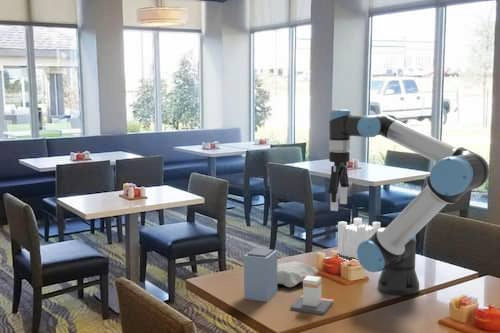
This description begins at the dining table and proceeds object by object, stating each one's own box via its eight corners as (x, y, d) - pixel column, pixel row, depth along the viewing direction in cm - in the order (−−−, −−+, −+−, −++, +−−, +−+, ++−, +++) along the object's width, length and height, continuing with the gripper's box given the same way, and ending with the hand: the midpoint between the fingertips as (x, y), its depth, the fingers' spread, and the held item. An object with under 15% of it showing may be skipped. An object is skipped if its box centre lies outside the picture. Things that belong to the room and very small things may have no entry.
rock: (249, 265, 233) (308, 252, 238) (251, 281, 234) (310, 268, 239) (262, 282, 214) (325, 267, 219) (264, 300, 216) (327, 285, 221)
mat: (333, 302, 205) (333, 299, 205) (324, 314, 194) (324, 311, 194) (301, 298, 210) (301, 295, 210) (290, 309, 199) (290, 306, 199)
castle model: (356, 248, 274) (357, 217, 272) (381, 254, 264) (381, 222, 262) (336, 254, 265) (336, 222, 263) (361, 260, 254) (361, 227, 253)
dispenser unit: (277, 292, 215) (277, 249, 213) (267, 301, 206) (267, 256, 204) (253, 289, 219) (252, 246, 217) (242, 298, 210) (242, 253, 208)
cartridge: (321, 301, 203) (321, 277, 202) (317, 306, 198) (317, 281, 197) (307, 299, 205) (307, 275, 204) (302, 304, 200) (302, 279, 199)
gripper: (338, 147, 228) (337, 200, 231) (320, 154, 206) (319, 212, 209) (356, 148, 226) (356, 201, 228) (341, 155, 203) (340, 214, 206)
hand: (338, 207), depth 218 cm, fingers open, 13 cm apart
